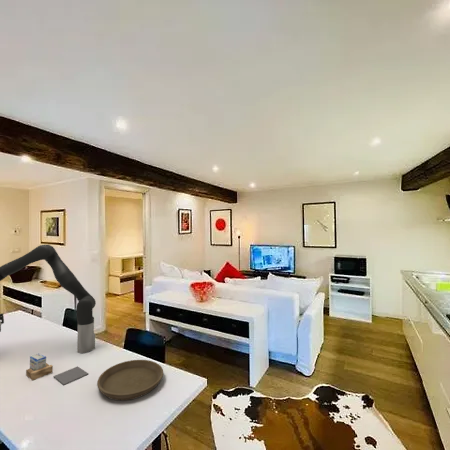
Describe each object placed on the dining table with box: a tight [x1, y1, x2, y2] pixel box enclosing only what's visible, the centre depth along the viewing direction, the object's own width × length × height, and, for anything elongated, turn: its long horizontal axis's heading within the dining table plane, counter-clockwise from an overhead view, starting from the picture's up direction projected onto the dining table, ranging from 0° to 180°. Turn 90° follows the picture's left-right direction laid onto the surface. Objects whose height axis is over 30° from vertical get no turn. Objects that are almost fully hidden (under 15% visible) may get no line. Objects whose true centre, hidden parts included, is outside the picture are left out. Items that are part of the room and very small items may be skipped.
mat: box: [53, 365, 89, 386], centre depth 136 cm, size 12×12×1 cm
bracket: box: [25, 362, 54, 381], centre depth 138 cm, size 9×9×4 cm
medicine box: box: [29, 353, 47, 371], centre depth 139 cm, size 8×4×9 cm, turn 61°
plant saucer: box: [96, 359, 164, 401], centre depth 130 cm, size 31×31×5 cm
